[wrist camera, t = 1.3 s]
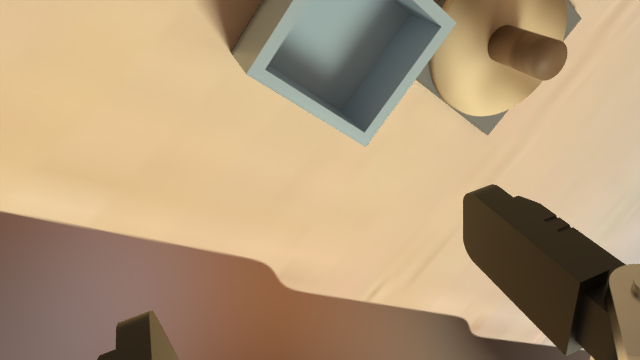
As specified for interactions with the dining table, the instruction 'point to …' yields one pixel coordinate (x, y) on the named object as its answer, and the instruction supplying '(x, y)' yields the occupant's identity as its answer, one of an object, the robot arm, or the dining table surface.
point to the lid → (498, 52)
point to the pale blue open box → (342, 55)
